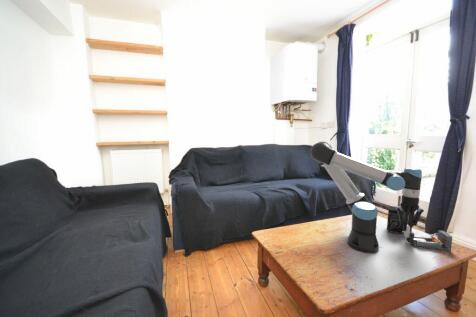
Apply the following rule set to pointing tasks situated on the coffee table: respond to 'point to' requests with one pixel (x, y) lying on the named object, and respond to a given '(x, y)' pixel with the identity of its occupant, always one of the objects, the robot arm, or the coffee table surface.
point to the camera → (394, 221)
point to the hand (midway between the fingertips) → (406, 236)
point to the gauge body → (442, 236)
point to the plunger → (412, 239)
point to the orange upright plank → (435, 239)
